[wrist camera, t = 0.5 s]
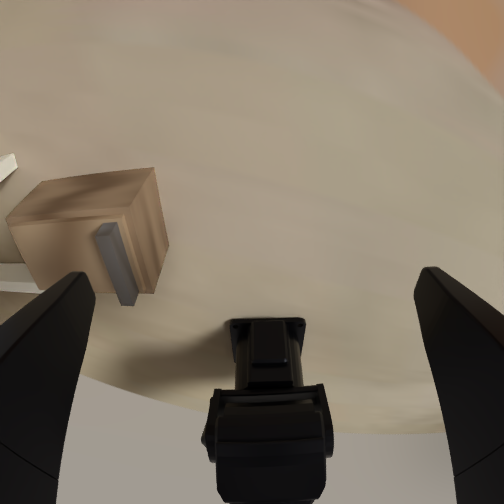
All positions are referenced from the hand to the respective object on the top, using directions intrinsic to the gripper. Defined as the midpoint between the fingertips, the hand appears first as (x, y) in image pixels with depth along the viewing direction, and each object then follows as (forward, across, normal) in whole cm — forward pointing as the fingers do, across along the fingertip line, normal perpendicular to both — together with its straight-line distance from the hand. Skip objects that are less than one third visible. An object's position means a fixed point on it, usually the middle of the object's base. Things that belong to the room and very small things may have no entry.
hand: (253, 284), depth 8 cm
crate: (+13, +11, +4) cm, 17 cm away
